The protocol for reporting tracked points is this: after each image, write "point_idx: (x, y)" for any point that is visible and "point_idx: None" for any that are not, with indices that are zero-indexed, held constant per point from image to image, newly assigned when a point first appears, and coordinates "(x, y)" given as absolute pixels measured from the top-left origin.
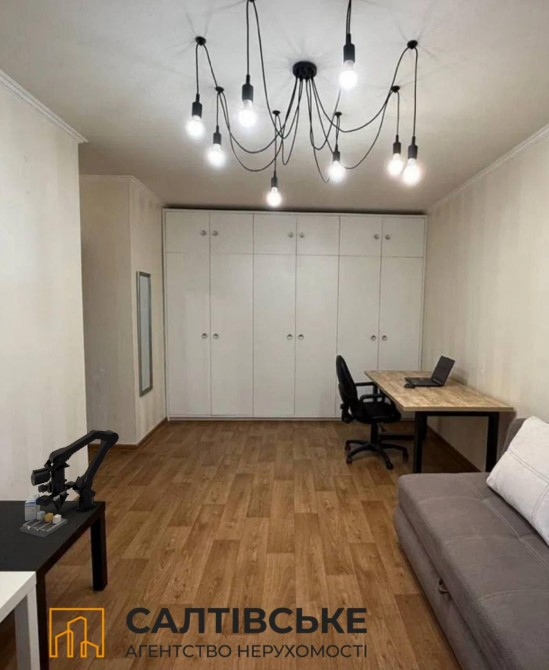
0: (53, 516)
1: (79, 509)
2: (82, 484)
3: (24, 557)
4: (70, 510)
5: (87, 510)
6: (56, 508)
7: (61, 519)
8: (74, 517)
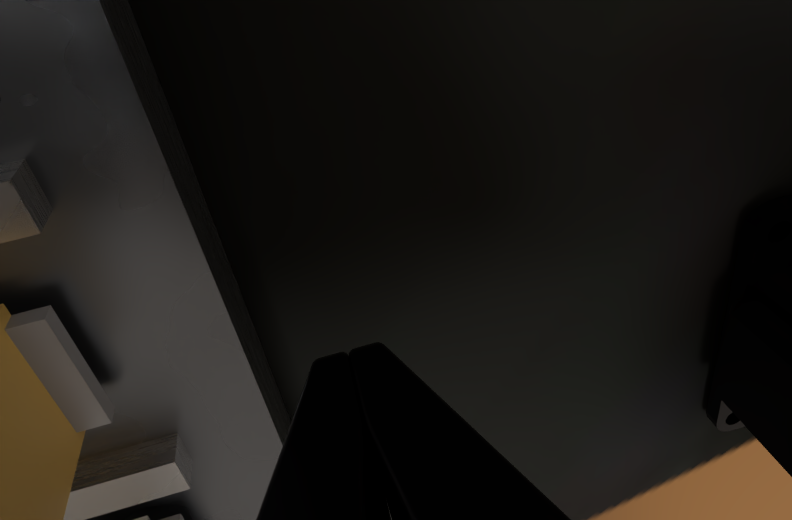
0: (180, 255)
1: (725, 334)
2: None
3: None
4: (686, 124)
5: (731, 425)
6: (290, 466)
7: (250, 504)
8: (493, 434)
